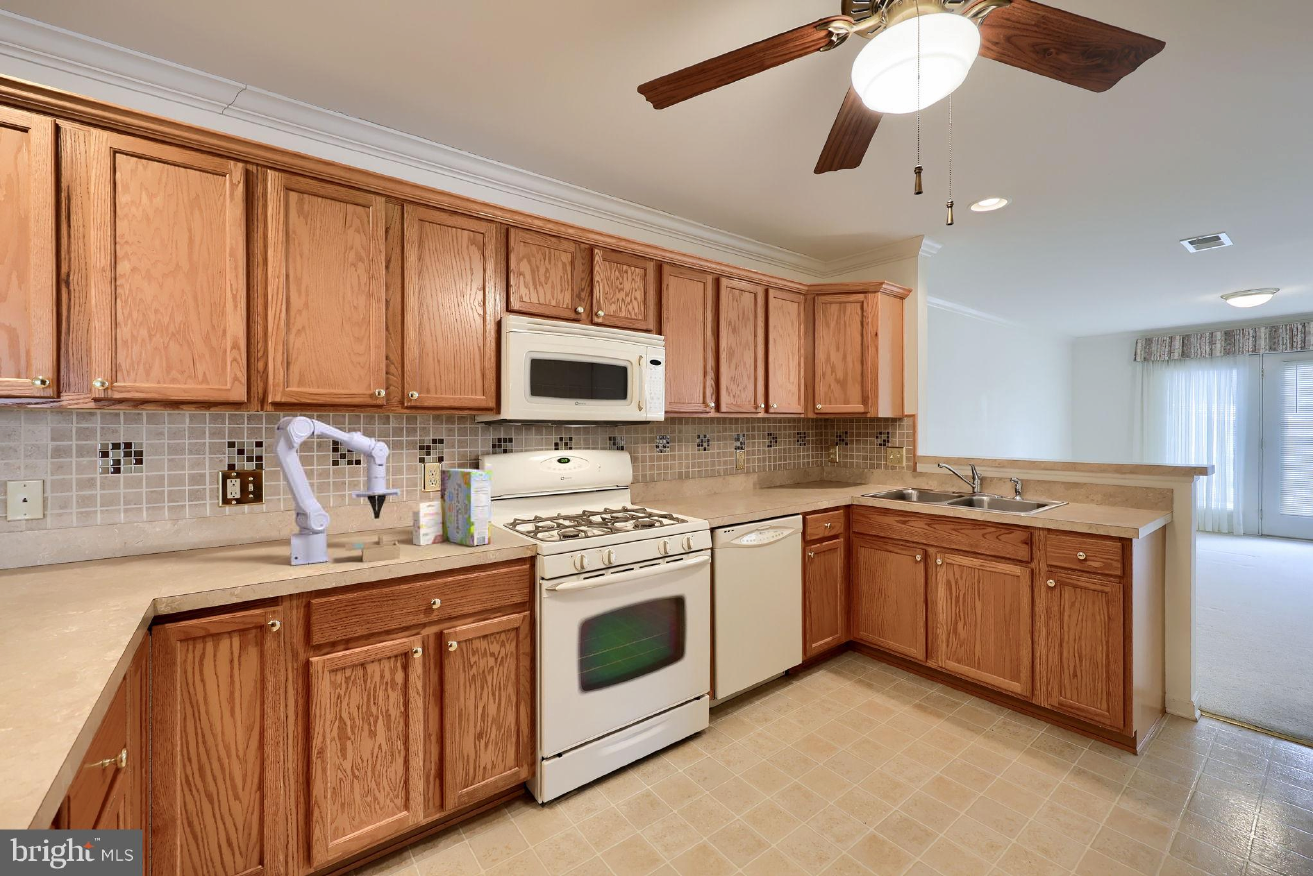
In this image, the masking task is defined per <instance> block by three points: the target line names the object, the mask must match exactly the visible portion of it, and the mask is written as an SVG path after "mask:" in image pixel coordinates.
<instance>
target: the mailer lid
mask: <svg viewBox="0 0 1313 876" xmlns="http://www.w3.org/2000/svg"><path fill="white" fill-rule="evenodd" d="M383 539H384V538H383V536H382V534H378V536H377V541H366V542H365V541H364V542H355V543H346V544H344V549H345V551H347V552H349V551H356V550H357V551H359V550H362V549H369V548H379V547H383V541H384V540H383Z"/></svg>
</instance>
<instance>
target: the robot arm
mask: <svg viewBox="0 0 1313 876" xmlns="http://www.w3.org/2000/svg"><path fill="white" fill-rule="evenodd" d="M316 435H318V436H321V437H324V438H327V439H330V440H333V441H337V442H340V443H341V444H342V445H343V447H344V449H346V450H348V451H352V452H354V453H357V454H360V455H362V456H364V457H365V458H366V490H359V491H358V490H357V491H351V499H357V498H367V500H368V502H369V503H370V506H371V509H372V512H373V517H374V519H377V520H378V519H380V517H381V512H382V509H383V506H384V504H385V502H386V499H387V497H388V496H390V497H391V496H402V495H401V493H402V491H401V489H400V488H399V489H398V488H397V489H394V488H392V489H389V488H388V489H387V478H386V477H387V457H388V456H389V454H390V449H389V447H388V445H386V443H385V442H383V441H376V440H375V438H374V437H367V436H365V435H362V432H360V431H350V432H348V433H347V432H345V431H342V430H340V429H338V428H336V427H333V426H332V425H331V426H330V425H328V424H326V423H323V422H322V421H318V420H316V419H312V418H308V417H305V416H297V417H296V416H295V417H294V416H293V417H292V416H286V417H283V418H282V419H280V420H279V421H278V423H277V425H276V426H275V427H274V438H273V444H272V453H273V455H274V458H275V460H276V462H277V464H278V466H279V469H280V471H281V473H282V476H283V478H284V480H285V483H286V485H287V488H288V490H289V492H290V494H291V497H292V500H293V501H294V505H295V506H294V509H293V510H294V514H295V519H294V522H295V525H296V526H297V527H298V528H299V529H298V533H297V532H296V533H291V534H290V553H289V558H290V566H297V565H298V566H299V565H306V564H307V565H309V564H315V563H316V564H317V563H318V564H319V563H326V561H327V562H329V559H330V558H329V554H328V538H327V535H328V534H327V528H328V527H329V526H330V524H331V517H330V514H328V513H327V512H326V511H325V510H324V509H323V506H322V505H321V504H320V502H318V501H317V500H316V498H315V495H314V493H313V490H312V488H311V486H310V483H309V481H308V478H307V476H306V473H305V471H304V469H303V466H302V464H301V461H300V459H299V456H298V453H297V452H296V451H297V449H298V448H299V446H300V445H301V444H302V442H304V441H305V440H307V438H309V437H310V436H316ZM308 563H309V564H308Z"/></svg>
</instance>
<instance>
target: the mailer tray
mask: <svg viewBox="0 0 1313 876" xmlns="http://www.w3.org/2000/svg"><path fill="white" fill-rule="evenodd" d="M400 554H401V553H400V544H399V543H398V541H397V540H395V541H394V540H393V541H384V542H383V547H379V548H369V549H361V559H362V563H370V562H369V561H372V562H379V561H381V560H382V561H389V560H391V561H392V560H397V559H396V558H400ZM400 559H401V558H400ZM382 561H381V562H382Z"/></svg>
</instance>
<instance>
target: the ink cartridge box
mask: <svg viewBox="0 0 1313 876" xmlns="http://www.w3.org/2000/svg"><path fill="white" fill-rule="evenodd" d="M430 505H431V507H429V506H430ZM412 538H413V539H412V540H413V541H412V542H413V543H412V544H413V545H414V544H416V545H415V546H419V545H423V546H427V545H426V544H429V545H432V544H433V543H434V544H438V543H437V542H439V543H443V540H442V510H441V500H438V501H437V500H436V501H429V502H428V501H427V502H421V503H419V510H412ZM434 544H433V545H434Z"/></svg>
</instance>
